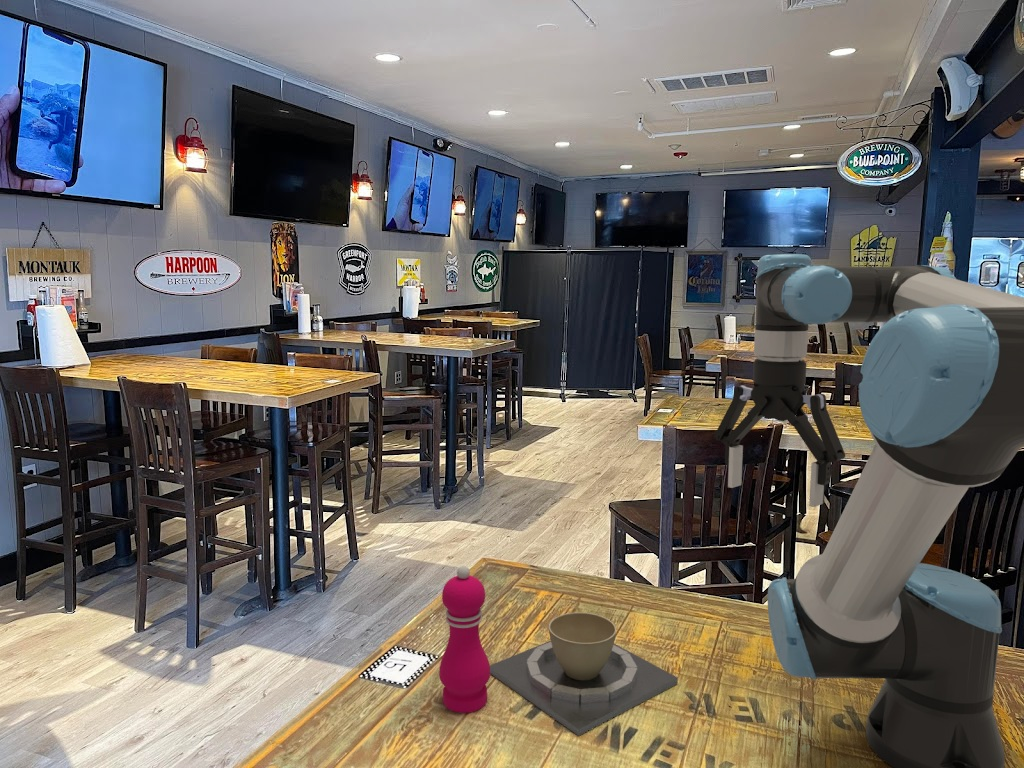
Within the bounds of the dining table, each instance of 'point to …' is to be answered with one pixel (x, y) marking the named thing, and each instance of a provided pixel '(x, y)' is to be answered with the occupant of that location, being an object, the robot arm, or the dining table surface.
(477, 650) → the pepper mill
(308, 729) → the dining table surface
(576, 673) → the flower pot
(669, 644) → the dining table surface
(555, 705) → the ring plate
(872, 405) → the robot arm
